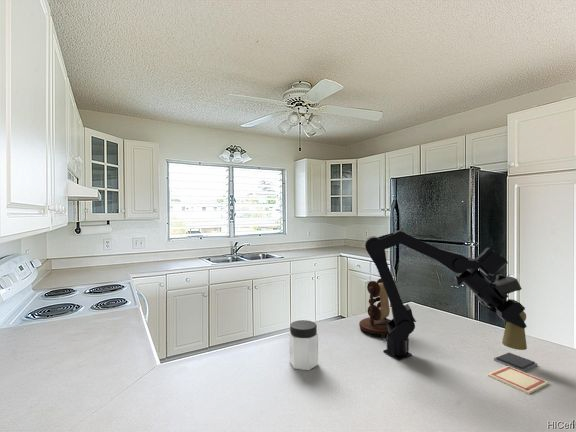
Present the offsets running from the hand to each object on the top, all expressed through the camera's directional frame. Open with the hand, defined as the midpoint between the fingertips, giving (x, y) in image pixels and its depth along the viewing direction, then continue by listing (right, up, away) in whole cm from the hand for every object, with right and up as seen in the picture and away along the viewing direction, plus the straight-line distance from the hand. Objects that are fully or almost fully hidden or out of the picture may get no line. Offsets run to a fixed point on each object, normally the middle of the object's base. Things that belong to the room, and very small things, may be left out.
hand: (520, 324), depth 93 cm
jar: (-65, -13, +2) cm, 66 cm away
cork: (-2, -7, 0) cm, 7 cm away
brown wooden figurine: (-34, -12, +28) cm, 46 cm away
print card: (-7, -12, -8) cm, 16 cm away
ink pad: (-1, -12, +1) cm, 12 cm away
